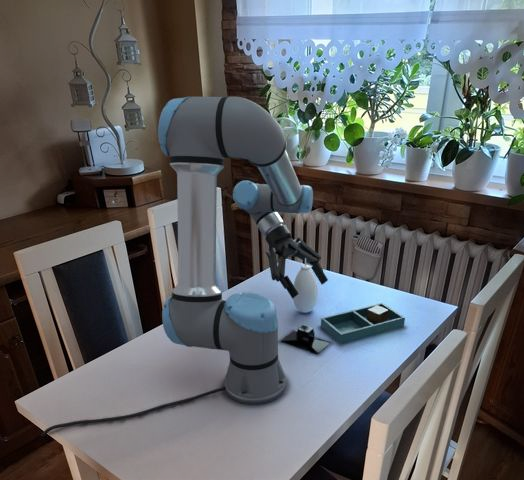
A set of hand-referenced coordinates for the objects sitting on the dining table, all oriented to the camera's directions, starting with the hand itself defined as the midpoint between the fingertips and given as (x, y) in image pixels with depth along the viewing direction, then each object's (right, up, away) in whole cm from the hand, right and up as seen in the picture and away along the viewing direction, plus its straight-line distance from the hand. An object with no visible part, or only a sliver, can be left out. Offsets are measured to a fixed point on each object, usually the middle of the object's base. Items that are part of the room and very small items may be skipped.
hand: (310, 289), depth 148 cm
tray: (+15, -12, -4) cm, 19 cm away
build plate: (-3, -17, -10) cm, 20 cm away
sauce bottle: (-1, -7, +6) cm, 9 cm away
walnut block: (+20, -10, -3) cm, 22 cm away
